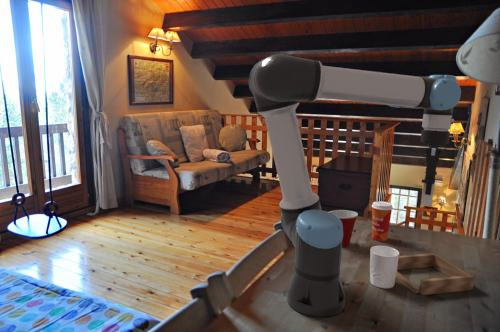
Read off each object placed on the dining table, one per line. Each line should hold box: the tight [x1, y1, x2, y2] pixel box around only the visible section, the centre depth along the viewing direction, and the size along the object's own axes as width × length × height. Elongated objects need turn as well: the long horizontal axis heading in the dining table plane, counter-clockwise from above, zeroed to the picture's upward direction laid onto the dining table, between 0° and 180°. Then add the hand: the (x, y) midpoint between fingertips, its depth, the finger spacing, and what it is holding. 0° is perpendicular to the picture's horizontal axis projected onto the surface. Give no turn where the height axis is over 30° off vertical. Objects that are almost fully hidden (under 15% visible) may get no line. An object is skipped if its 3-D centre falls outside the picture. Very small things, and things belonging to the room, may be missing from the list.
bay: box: [395, 252, 475, 296], centre depth 113 cm, size 18×16×4 cm
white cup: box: [369, 245, 400, 289], centre depth 109 cm, size 8×8×10 cm
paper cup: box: [371, 200, 394, 242], centre depth 143 cm, size 8×8×14 cm
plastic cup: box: [327, 209, 359, 248], centre depth 138 cm, size 11×11×12 cm
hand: (426, 200), depth 113 cm, fingers open, 13 cm apart
